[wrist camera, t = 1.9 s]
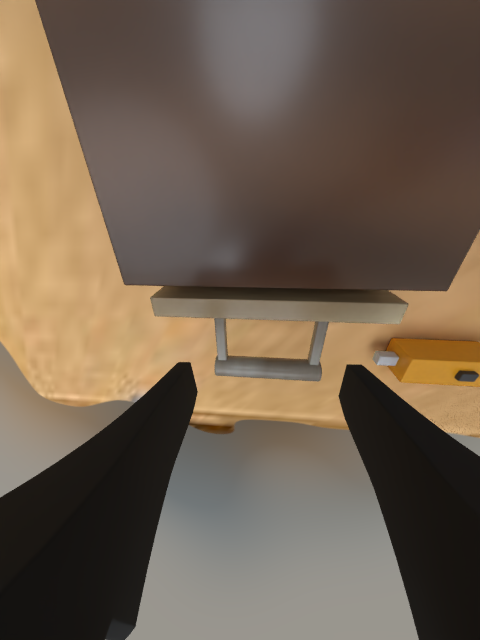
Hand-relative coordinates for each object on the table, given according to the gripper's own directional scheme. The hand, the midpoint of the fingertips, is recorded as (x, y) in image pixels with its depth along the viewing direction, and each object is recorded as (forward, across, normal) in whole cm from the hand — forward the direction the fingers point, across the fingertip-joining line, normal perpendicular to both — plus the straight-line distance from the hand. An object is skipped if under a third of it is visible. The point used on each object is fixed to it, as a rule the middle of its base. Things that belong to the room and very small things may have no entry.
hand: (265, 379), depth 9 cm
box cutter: (+9, -14, +6) cm, 18 cm away
